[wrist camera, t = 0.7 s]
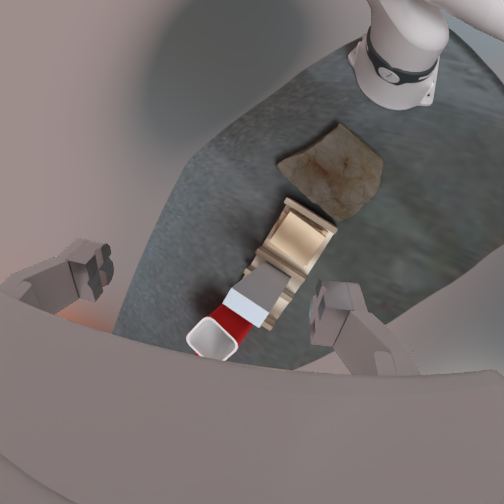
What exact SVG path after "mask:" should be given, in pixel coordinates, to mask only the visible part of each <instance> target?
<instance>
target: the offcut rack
mask: <svg viewBox="0 0 504 504" xmlns="http://www.w3.org/2000/svg"><path fill="white" fill-rule="evenodd" d="M284 203H285V204H286V206H285V208H284V209H283V211H282V213H283V212H287V211H288V209H289V208H291V209H293V210H295V211H296V212H298V213H299V214H301V215H303V216H304V217H306V218H307V219H309V220H311V221H312V222H314V223H315V224H317V225H319V226H320V227H322V228H323V229H325V230H326V231H328V234H327V235H326V237H325V239H324V240H323V242H322V243H321V245H320V247H319V248H318V250H317V251H316V253H315V254H314V256H313V258H312V259H311V261H310V262H309V264H308V265H307V266H306V265H305V266H304V267H303V266H302V265H300V264H299V263H298V262H296V261H295V260H294V259H292V258H291V257H289V256H287V255H285V254H283V253H281V252H279V251H277V250H275V249H273V248H271V247H269V246H267V245H268V243H269V241H270V239H271V237H272V234H273V232H274V230H275V228H276V226H277V224H278V221H279V219H280V217H281V215H282V213H281V214H280V216H279V218H278V220H277V221H276V223H275V225H274V226H273V228H272V230H271V231H270V233H269V235H268V236H267V238H266V240H265V242H264V243H263V245H262V246H261V247H259V248H258V249H257V250H256V252H255V253H256V254H257V255H256V257H255V258H254V260H253V262H252V264H251V265H250V266H248V267H247V268H246V269H245V271H244V272H243V273H245V275H244V277H246V276H247V275H248V274H250V273H251V272H252V271H253V270H255V269H256V268H257V267H258V266H260V265H261V264H262V263H264V262H265V261H268V262H269V263H271V264H273V265H274V266H276V267H277V268H279V269H280V270H282V271H283V272H285V273H286V274H288V275H290V276H291V279H290V280H289V282H288V284H287V285H286V287H285V289H284V290H283V292H282V293H281V295H280V297H279V298H278V300H277V301H276V303H275V305H274V306H273V308H272V309H271V311H270V313H269V314H268V316H267V317H266V319H265V320H264V321H263V323H262V324H261V325H262V326H263V327H265V328H266V329H268V330H270V331H271V329H272V328H273V326H274V324H275V322H276V321H277V319H278V317H279V316H280V314H281V313H282V312H283V310H284V309H285V307H286V306H287V304H288V303H290V301H291V300H292V299H293V296H294V294H295V293H296V291H297V290H298V288H299V287H300V285H301V284H303V282H304V281H305V279H306V277H307V275H308V273H309V272H310V270H311V268H312V267H313V265H314V264H315V262H316V261H317V259H318V258H319V256H320V255H321V253H322V251H323V250H324V248H325V247H326V245H327V244H328V242H329V240H330V239H331V237H332V236H333V234H335V233H336V232H337V230H338V228H337V227H336V226H335V225H333V224H332V223H330V222H329V221H327V220H325V219H324V218H322V217H321V216H319V215H317V214H316V213H314V212H313V211H311V210H309V209H308V208H306V207H305V206H303V205H301V204H300V203H298V202H296V201H295V200H293V199H291V198H286V199H285V201H284ZM244 277H243V278H244Z"/></svg>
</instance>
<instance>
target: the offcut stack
mask: <svg viewBox="0 0 504 504" xmlns="http://www.w3.org/2000/svg"><path fill="white" fill-rule="evenodd" d="M327 234H328V231H326V230H325V229H323V228H322V227H320V226H319V225H317V224H315V223H314V222H312V221H311V220H309V219H307V218H306V217H304V216H303V215H301V214H299V213H298V212H296V211H295V210H293V209H291V208H289V209H288V211H287V212H283V213H282V215H281V217H280V219H279V221H278V224H277V226H276V228H275V230H274V232H273V234H272V237H271V239H270V241H269V243H268V245H267V246H269V247H271V248H273V249H275V250H277V251H279V252H281V253H283V254H285V255H287V256H289V257H291V258H292V259H294V260H295V261H296V262H298V263H299V264H300V265H302V266H303V267H304V266H305V265H306V266H307V265H308V264H309V262H310V261H311V259H312V258H313V256H314V254H315V253H316V251H317V250H318V248H319V247H320V245H321V243H322V242H323V240H324V239H325V237H326V235H327Z"/></svg>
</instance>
